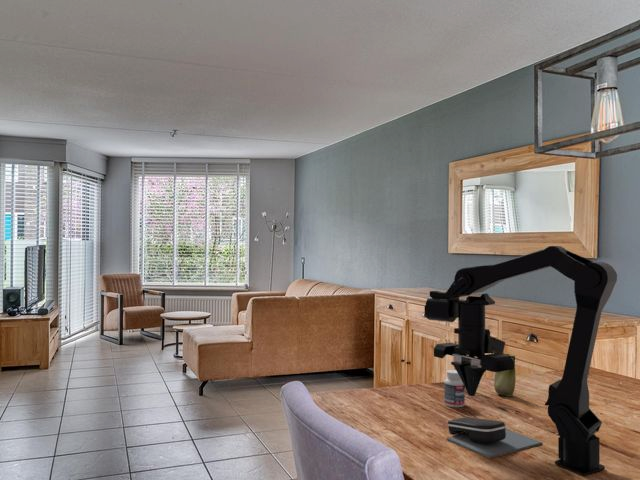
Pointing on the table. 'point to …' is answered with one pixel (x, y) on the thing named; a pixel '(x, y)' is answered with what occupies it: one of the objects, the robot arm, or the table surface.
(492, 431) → the battery charger
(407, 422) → the table surface
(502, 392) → the fennel bulb
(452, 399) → the pill bottle
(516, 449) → the gray mat
